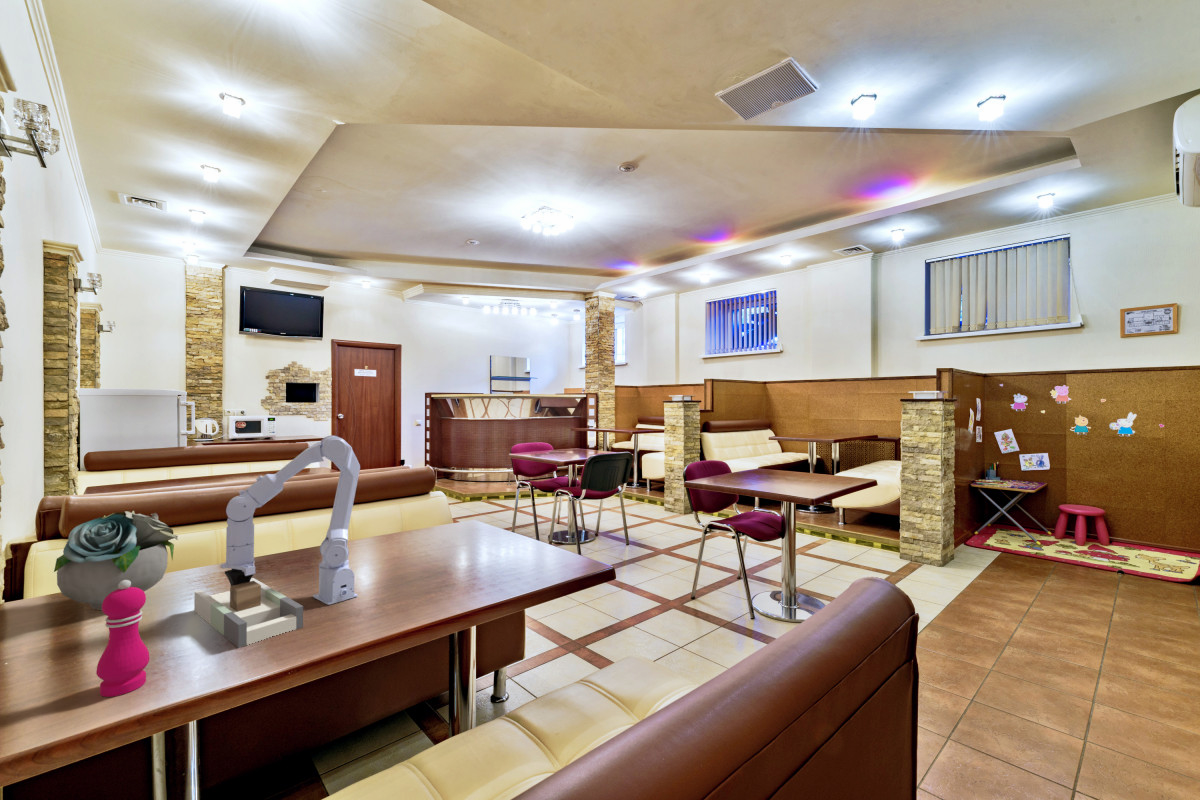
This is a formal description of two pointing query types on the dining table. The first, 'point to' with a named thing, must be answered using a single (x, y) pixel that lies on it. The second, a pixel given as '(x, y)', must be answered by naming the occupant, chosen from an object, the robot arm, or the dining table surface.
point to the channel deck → (250, 615)
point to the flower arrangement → (113, 556)
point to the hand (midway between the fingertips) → (239, 597)
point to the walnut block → (245, 596)
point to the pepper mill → (123, 642)
